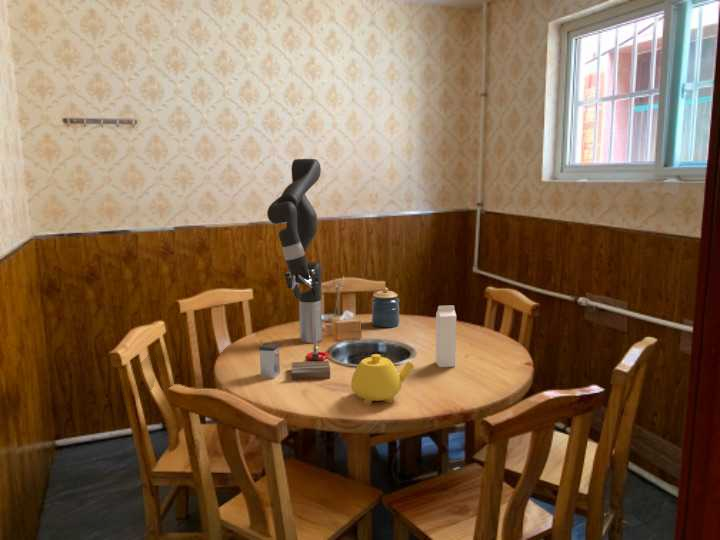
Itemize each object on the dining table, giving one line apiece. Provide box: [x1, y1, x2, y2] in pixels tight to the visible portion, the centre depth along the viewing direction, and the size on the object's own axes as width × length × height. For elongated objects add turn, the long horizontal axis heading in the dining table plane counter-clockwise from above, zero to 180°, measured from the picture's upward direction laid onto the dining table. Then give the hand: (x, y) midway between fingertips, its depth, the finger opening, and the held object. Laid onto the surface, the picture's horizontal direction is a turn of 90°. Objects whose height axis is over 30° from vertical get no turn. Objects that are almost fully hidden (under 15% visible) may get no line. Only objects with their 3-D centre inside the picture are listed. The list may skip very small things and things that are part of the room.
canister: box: [371, 287, 400, 328], centre depth 254 cm, size 13×13×18 cm
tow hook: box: [306, 327, 330, 362], centre depth 209 cm, size 8×13×9 cm
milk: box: [435, 305, 457, 368], centre depth 198 cm, size 6×6×22 cm
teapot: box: [350, 353, 415, 405], centre depth 170 cm, size 20×16×14 cm
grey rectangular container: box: [258, 342, 281, 379], centre depth 189 cm, size 6×5×11 cm
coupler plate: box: [291, 360, 331, 381], centre depth 192 cm, size 11×13×4 cm
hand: (307, 297), depth 204 cm, fingers open, 8 cm apart
